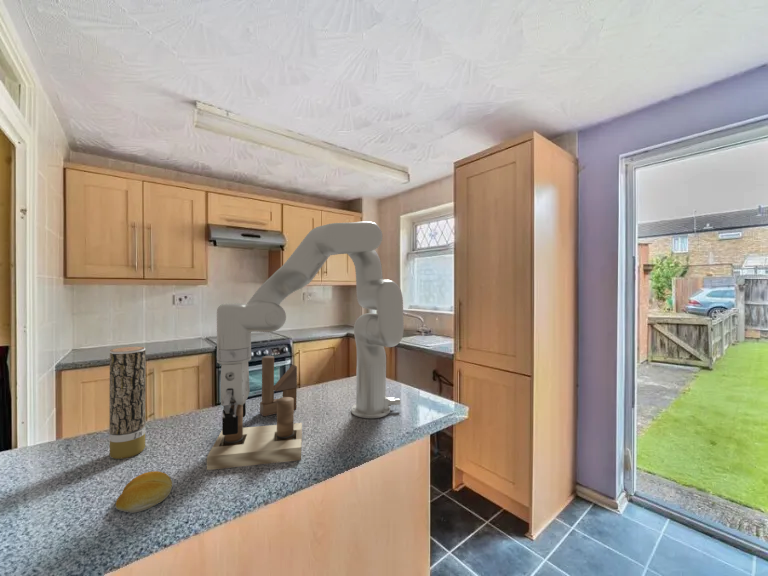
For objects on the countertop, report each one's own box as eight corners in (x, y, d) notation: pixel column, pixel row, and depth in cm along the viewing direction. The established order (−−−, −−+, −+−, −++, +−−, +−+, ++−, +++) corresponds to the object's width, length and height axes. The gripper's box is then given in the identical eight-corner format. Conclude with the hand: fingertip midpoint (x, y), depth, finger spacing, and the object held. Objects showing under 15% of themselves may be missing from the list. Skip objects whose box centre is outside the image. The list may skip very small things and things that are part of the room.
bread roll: (109, 520, 57) (109, 497, 57) (128, 490, 66) (128, 470, 66) (165, 509, 60) (165, 487, 60) (176, 481, 69) (176, 462, 69)
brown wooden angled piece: (296, 409, 108) (297, 354, 108) (263, 417, 102) (263, 358, 102) (292, 406, 111) (293, 352, 111) (259, 413, 105) (260, 356, 105)
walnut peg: (244, 447, 83) (244, 399, 83) (241, 455, 79) (241, 405, 79) (226, 449, 82) (226, 400, 82) (222, 457, 78) (222, 406, 78)
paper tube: (105, 463, 75) (106, 352, 75) (113, 449, 81) (113, 347, 81) (142, 456, 78) (142, 350, 78) (147, 444, 84) (147, 345, 84)
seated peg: (294, 442, 86) (294, 396, 86) (293, 450, 82) (293, 401, 81) (277, 444, 85) (277, 397, 85) (275, 452, 81) (275, 403, 80)
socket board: (301, 433, 91) (301, 422, 91) (301, 460, 77) (301, 447, 77) (222, 440, 86) (222, 429, 86) (206, 470, 73) (206, 456, 73)
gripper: (244, 362, 73) (244, 439, 73) (256, 347, 89) (256, 410, 90) (206, 364, 71) (207, 443, 71) (226, 348, 88) (226, 412, 88)
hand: (234, 425), depth 80 cm, fingers open, 9 cm apart
